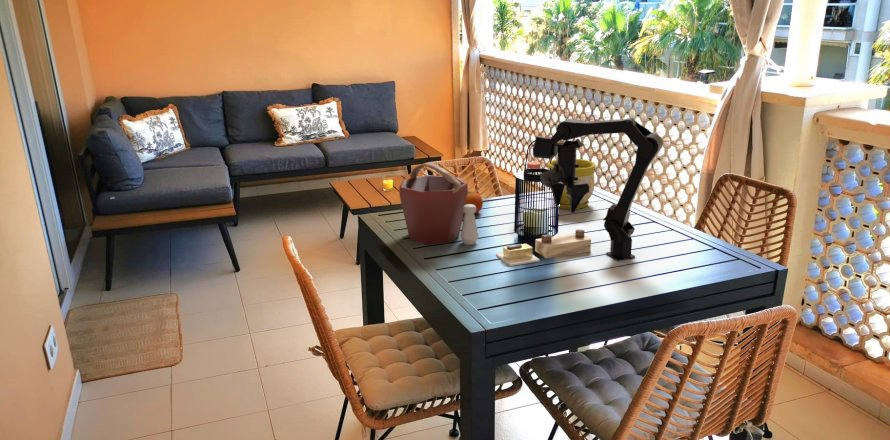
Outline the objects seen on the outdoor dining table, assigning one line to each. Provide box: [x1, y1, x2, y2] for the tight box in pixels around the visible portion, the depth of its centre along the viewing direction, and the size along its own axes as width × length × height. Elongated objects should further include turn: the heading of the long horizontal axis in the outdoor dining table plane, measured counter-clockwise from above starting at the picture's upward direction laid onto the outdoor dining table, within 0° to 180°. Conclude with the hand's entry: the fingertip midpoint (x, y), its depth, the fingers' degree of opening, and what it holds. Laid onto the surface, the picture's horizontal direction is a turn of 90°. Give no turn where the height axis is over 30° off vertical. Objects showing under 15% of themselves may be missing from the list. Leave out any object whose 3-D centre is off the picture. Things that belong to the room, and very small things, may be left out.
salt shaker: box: [460, 204, 479, 246], centre depth 227 cm, size 6×6×13 cm
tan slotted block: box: [502, 243, 533, 260], centre depth 214 cm, size 4×8×4 cm, turn 111°
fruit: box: [463, 190, 484, 215], centre depth 260 cm, size 11×10×8 cm
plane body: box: [534, 228, 592, 259], centre depth 219 cm, size 7×16×6 cm, turn 111°
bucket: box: [398, 162, 469, 246], centre depth 232 cm, size 24×22×25 cm
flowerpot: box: [547, 158, 597, 210], centre depth 267 cm, size 18×18×16 cm
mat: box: [495, 252, 541, 267], centre depth 215 cm, size 10×10×1 cm
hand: (564, 208), depth 220 cm, fingers open, 9 cm apart
